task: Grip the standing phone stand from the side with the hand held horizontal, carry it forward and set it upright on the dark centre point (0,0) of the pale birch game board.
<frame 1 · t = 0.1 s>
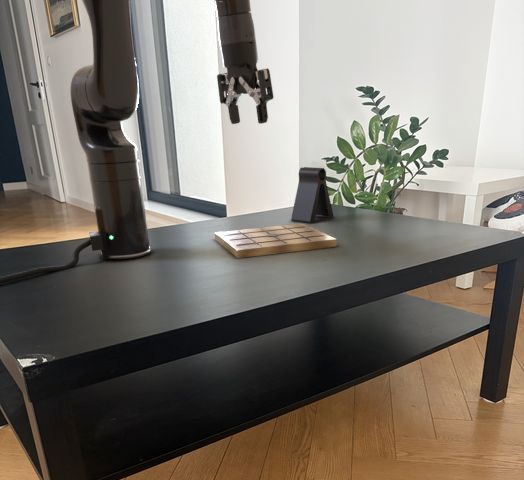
hand: (249, 123, 122), 22 cm above the table, tool pointing down, fingers open, 8 cm apart
phone stand: (312, 220, 134), on the table
board: (272, 242, 112), on the table
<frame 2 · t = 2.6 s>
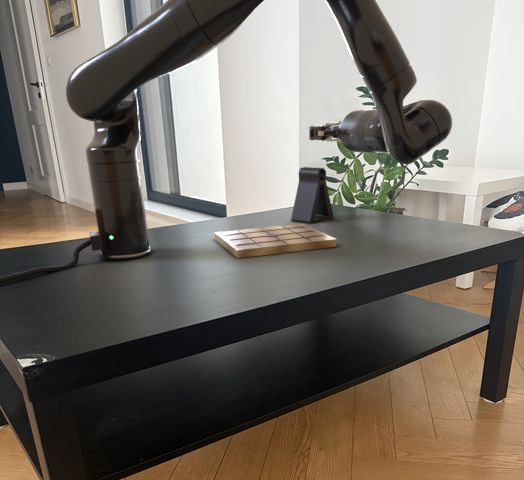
hand: (330, 131, 116), 20 cm above the table, tool horizontal, fingers open, 8 cm apart
nothing on the table moved.
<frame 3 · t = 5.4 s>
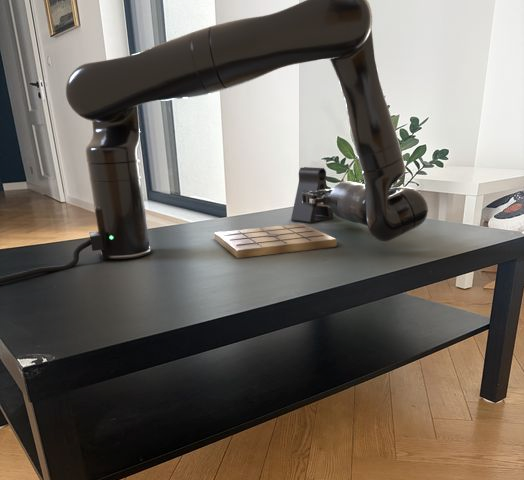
hand: (323, 192, 125), 7 cm above the table, tool horizontal, fingers open, 8 cm apart
nothing on the table moved.
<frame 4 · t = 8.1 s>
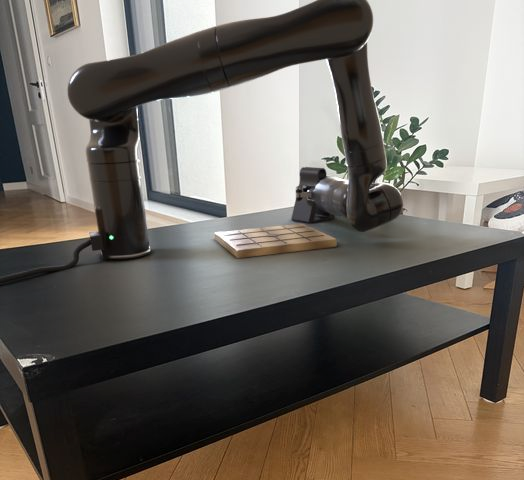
hand: (307, 188, 133), 7 cm above the table, tool horizontal, fingers closed on phone stand, 3 cm apart
phone stand: (313, 220, 134), on the table, touching gripper
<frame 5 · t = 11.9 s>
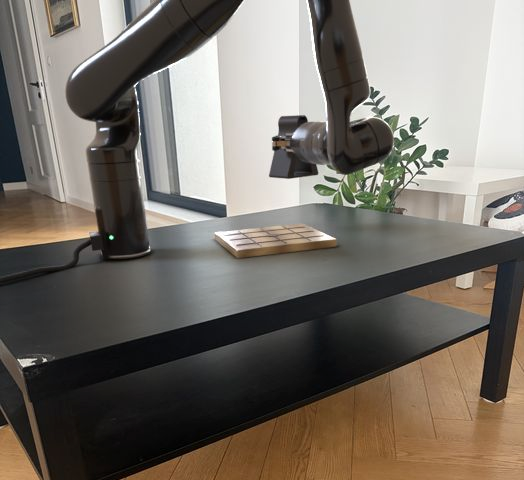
hand: (286, 140, 118), 19 cm above the table, tool horizontal, fingers closed on phone stand, 3 cm apart
phone stand: (293, 177, 118), point 11 cm above the table, touching gripper
when the fingers open (9 cm above the table, at t = 16.3 s): phone stand stays where it is, resting on board.
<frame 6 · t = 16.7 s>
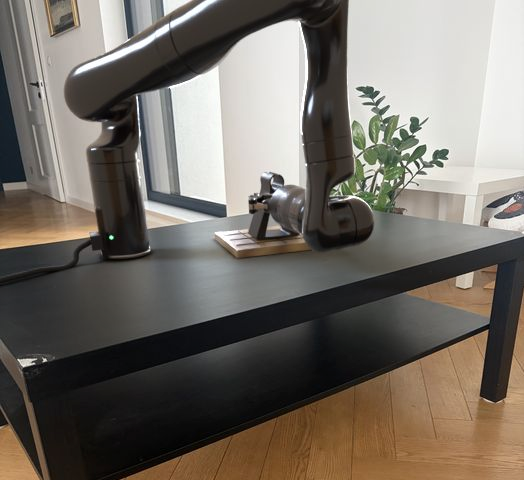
hand: (267, 197, 111), 9 cm above the table, tool horizontal, fingers open, 4 cm apart
phone stand: (273, 236, 111), point 1 cm above the table, touching board
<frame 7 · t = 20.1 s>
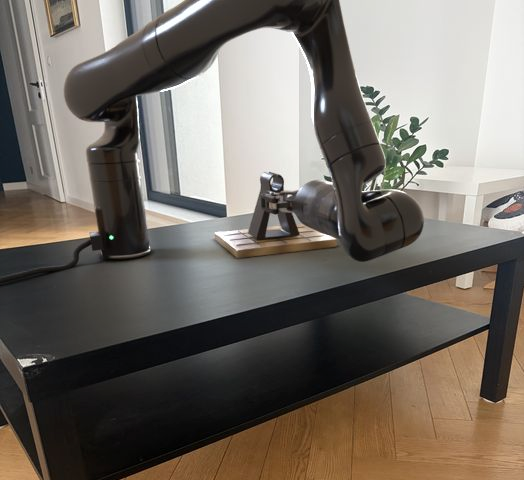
hand: (290, 195, 98), 11 cm above the table, tool horizontal, fingers open, 8 cm apart
nothing on the table moved.
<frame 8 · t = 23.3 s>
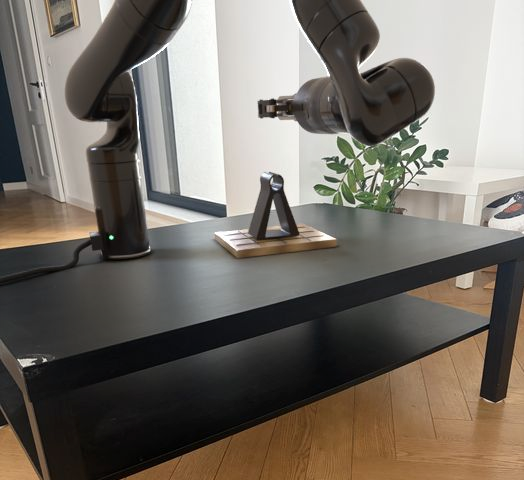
hand: (289, 108, 92), 25 cm above the table, tool horizontal, fingers open, 8 cm apart
nothing on the table moved.
at the end: phone stand 0.4 cm off-centre on the board, point 1.4 cm above the board's base; phone stand tilted 0°; the gripper is holding nothing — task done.
